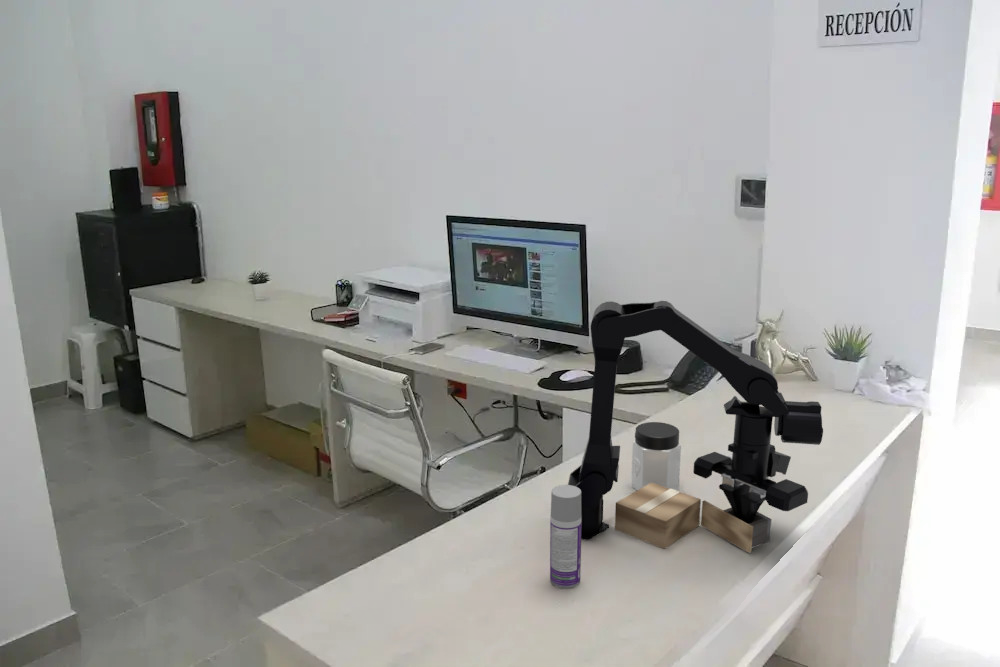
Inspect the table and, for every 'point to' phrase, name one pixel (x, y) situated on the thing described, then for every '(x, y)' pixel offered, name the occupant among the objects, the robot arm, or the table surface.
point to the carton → (657, 514)
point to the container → (565, 536)
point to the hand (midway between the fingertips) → (744, 527)
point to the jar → (656, 455)
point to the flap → (736, 526)
